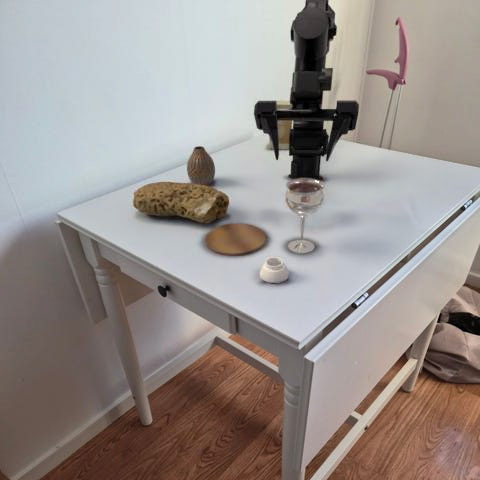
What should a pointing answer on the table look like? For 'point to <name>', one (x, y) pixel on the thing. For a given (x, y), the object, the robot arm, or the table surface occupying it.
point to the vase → (200, 167)
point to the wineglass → (303, 205)
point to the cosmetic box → (283, 127)
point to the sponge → (181, 201)
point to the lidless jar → (274, 270)
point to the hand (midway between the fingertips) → (301, 159)
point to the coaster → (235, 239)
